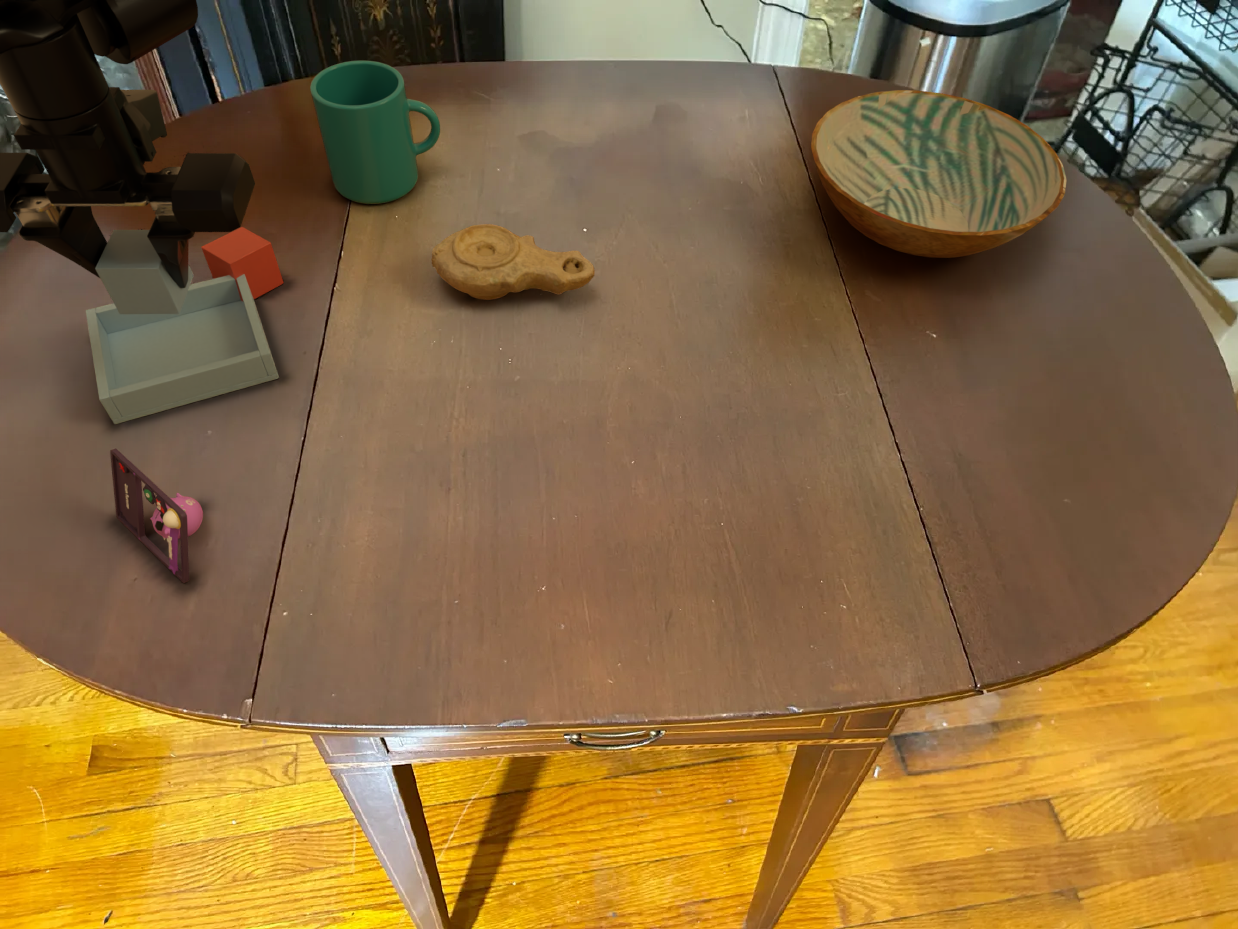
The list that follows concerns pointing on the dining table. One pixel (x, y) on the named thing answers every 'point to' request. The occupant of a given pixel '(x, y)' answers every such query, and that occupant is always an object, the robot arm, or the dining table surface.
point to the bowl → (935, 172)
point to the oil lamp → (506, 264)
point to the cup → (369, 130)
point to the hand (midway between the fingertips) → (152, 284)
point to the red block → (244, 260)
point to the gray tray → (179, 351)
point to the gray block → (139, 276)
